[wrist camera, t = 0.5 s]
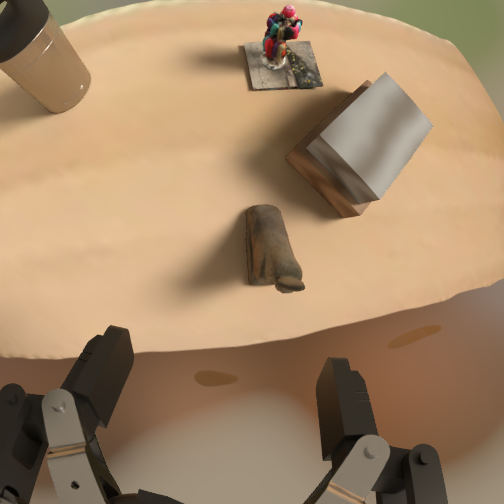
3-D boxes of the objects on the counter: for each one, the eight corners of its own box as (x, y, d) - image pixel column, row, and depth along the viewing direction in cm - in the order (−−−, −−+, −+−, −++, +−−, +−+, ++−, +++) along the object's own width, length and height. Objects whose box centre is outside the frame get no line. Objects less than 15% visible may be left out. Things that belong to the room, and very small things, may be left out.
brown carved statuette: (274, 280, 42) (310, 337, 26) (240, 279, 41) (258, 338, 25) (283, 205, 39) (329, 222, 24) (246, 202, 38) (271, 217, 23)
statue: (253, 95, 39) (255, 37, 24) (243, 49, 39) (243, -11, 24) (321, 89, 40) (350, 36, 25) (308, 45, 39) (327, -12, 24)
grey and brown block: (285, 158, 39) (307, 133, 29) (353, 93, 40) (383, 64, 30) (343, 218, 40) (380, 211, 31) (402, 145, 42) (439, 127, 32)
